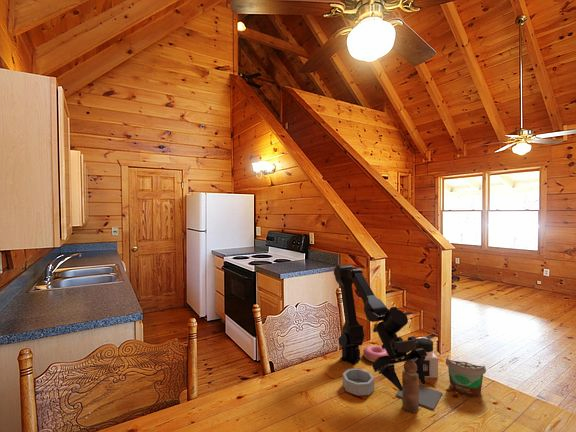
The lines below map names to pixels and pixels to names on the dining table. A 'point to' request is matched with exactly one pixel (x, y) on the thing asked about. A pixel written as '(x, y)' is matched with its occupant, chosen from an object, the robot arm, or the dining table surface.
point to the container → (428, 358)
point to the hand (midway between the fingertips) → (413, 387)
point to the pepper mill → (410, 387)
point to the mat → (426, 397)
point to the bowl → (358, 381)
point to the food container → (465, 377)
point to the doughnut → (374, 352)
